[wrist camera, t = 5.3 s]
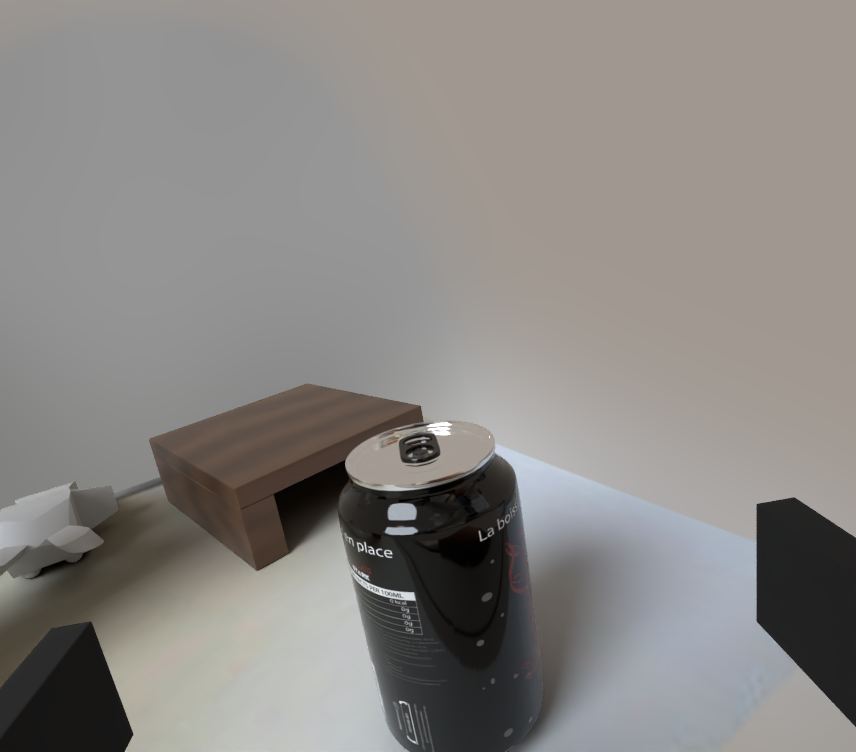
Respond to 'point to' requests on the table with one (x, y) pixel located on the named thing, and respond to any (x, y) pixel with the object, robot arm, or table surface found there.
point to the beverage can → (443, 586)
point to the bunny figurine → (52, 527)
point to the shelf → (266, 459)
